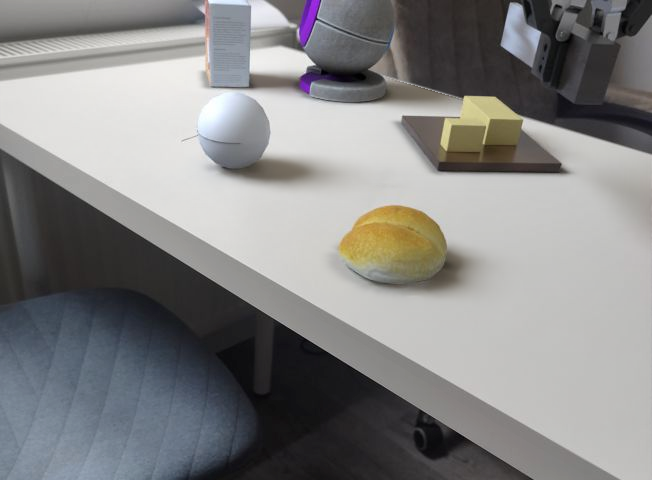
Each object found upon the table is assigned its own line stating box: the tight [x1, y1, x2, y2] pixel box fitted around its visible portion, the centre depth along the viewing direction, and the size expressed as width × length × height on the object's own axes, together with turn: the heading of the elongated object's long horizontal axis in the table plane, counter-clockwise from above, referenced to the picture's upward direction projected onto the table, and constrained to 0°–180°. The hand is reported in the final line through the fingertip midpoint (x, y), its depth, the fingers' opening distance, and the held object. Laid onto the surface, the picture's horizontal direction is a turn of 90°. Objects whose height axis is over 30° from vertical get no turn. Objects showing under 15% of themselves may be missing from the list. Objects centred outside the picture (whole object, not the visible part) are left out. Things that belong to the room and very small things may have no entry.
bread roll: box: [338, 204, 448, 285], centre depth 56 cm, size 8×9×4 cm
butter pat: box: [440, 118, 486, 152], centre depth 77 cm, size 4×2×3 cm, turn 98°
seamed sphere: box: [181, 91, 272, 170], centre depth 69 cm, size 10×7×7 cm
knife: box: [500, 1, 622, 106], centre depth 61 cm, size 19×2×4 cm, turn 7°
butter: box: [459, 95, 524, 145], centre depth 82 cm, size 4×9×3 cm, turn 8°
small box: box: [204, 0, 252, 88], centre depth 96 cm, size 8×6×10 cm
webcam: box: [298, 0, 396, 103], centre depth 94 cm, size 13×13×15 cm
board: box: [400, 115, 563, 173], centre depth 82 cm, size 14×16×1 cm
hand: (564, 86), depth 59 cm, fingers closed on knife, 2 cm apart
